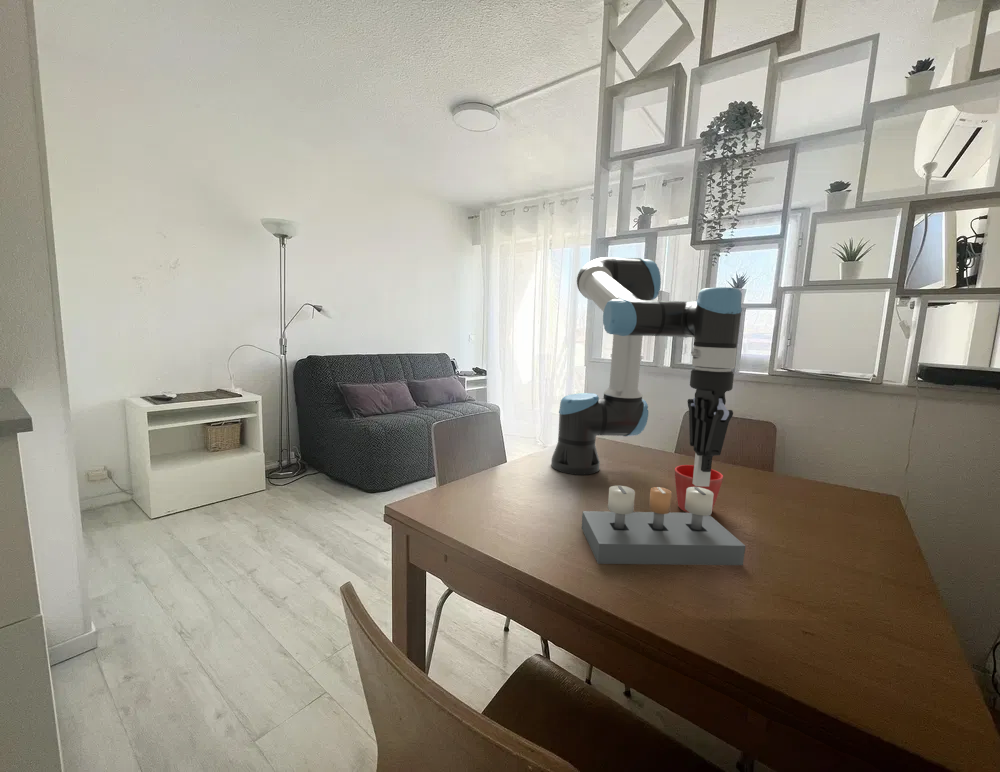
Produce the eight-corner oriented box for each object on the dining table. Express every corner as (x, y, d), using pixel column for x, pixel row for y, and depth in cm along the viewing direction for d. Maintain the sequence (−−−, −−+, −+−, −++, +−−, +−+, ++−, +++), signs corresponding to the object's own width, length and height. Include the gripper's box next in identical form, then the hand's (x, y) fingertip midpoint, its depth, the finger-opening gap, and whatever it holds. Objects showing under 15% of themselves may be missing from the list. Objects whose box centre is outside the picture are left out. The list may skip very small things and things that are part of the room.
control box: (581, 528, 93) (582, 511, 93) (705, 529, 94) (707, 513, 94) (597, 563, 79) (599, 543, 79) (743, 565, 80) (745, 545, 80)
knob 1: (603, 520, 88) (606, 484, 87) (627, 521, 88) (630, 484, 87) (610, 532, 83) (613, 494, 82) (635, 532, 84) (638, 494, 82)
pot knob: (644, 522, 88) (647, 486, 87) (663, 522, 88) (666, 486, 87) (652, 531, 84) (655, 493, 83) (671, 532, 84) (675, 494, 83)
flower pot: (725, 521, 99) (729, 481, 98) (676, 515, 101) (679, 476, 100) (712, 502, 109) (716, 466, 108) (667, 498, 111) (670, 462, 110)
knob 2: (678, 521, 89) (682, 485, 88) (702, 522, 89) (705, 486, 88) (690, 533, 84) (693, 495, 83) (714, 533, 84) (718, 495, 83)
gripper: (678, 365, 88) (668, 473, 91) (711, 372, 75) (698, 497, 78) (713, 366, 88) (702, 474, 92) (752, 373, 75) (737, 498, 79)
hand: (700, 484), depth 85 cm, fingers closed
